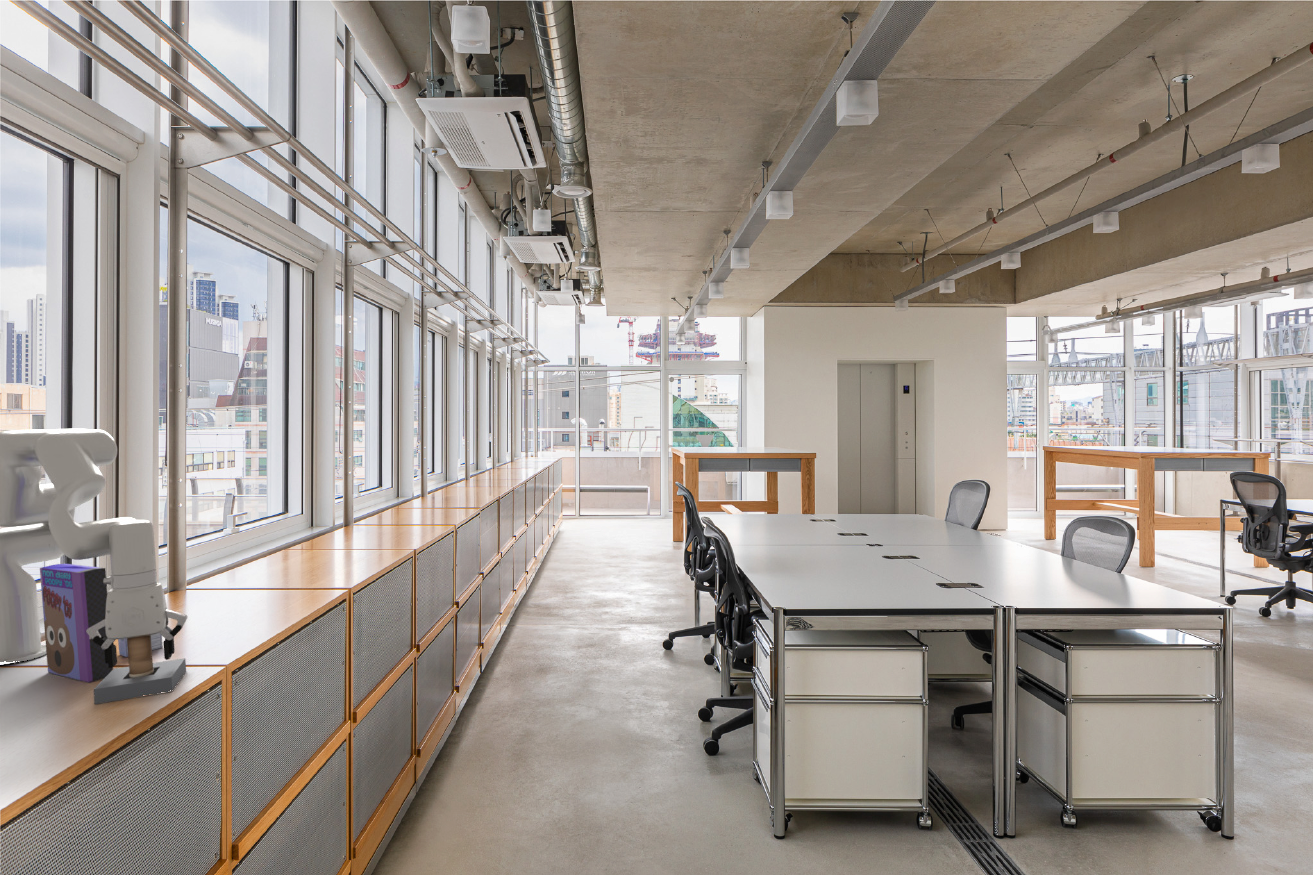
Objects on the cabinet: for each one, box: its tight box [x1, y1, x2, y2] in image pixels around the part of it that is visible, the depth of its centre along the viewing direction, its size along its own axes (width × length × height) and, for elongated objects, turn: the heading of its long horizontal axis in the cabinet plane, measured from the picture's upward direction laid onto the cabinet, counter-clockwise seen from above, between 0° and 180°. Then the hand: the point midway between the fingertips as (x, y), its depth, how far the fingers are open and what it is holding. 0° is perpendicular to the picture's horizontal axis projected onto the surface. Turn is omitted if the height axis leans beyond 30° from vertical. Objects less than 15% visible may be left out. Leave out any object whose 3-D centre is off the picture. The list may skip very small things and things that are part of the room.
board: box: [93, 657, 187, 705], centre depth 151 cm, size 13×13×3 cm
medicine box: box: [117, 633, 164, 658], centre depth 176 cm, size 8×4×9 cm, turn 144°
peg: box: [127, 635, 154, 678], centre depth 151 cm, size 4×4×12 cm
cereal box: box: [39, 563, 114, 684], centre depth 161 cm, size 17×5×24 cm, turn 62°
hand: (141, 661), depth 151 cm, fingers open, 9 cm apart
